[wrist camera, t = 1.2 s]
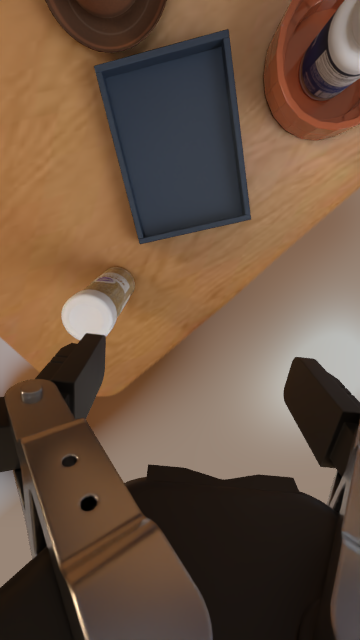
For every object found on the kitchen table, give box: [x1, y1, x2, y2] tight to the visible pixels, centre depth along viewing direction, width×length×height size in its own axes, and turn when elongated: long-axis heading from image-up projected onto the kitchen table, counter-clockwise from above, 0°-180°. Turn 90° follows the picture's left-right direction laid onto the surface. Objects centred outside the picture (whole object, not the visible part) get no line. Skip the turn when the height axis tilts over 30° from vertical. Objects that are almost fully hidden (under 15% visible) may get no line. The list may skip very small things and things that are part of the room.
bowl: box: [264, 0, 360, 140], centre depth 27 cm, size 12×12×4 cm
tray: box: [94, 29, 251, 244], centre depth 31 cm, size 17×13×2 cm
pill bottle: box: [299, 0, 360, 101], centre depth 24 cm, size 5×5×10 cm
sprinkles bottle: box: [61, 267, 135, 340], centre depth 31 cm, size 5×5×14 cm
